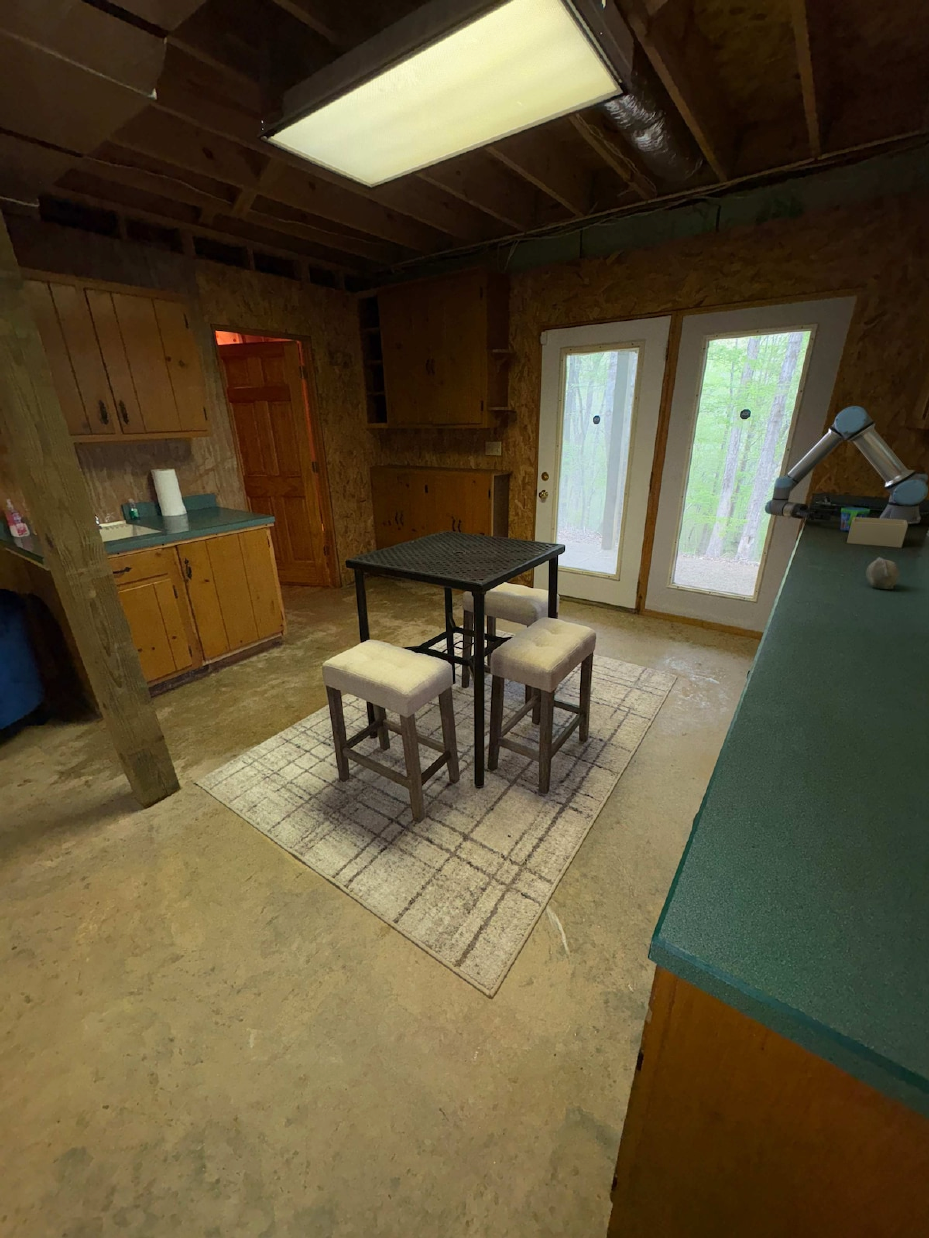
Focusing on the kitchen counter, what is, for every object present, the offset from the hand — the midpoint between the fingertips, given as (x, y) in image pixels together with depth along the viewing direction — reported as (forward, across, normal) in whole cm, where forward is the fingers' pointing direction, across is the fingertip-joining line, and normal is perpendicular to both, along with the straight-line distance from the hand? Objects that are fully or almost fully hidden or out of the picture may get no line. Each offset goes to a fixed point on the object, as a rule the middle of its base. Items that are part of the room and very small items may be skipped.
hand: (839, 516), depth 229 cm
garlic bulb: (+62, +76, -6) cm, 98 cm away
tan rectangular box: (+25, +16, -6) cm, 30 cm away
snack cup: (+6, 0, -6) cm, 9 cm away
